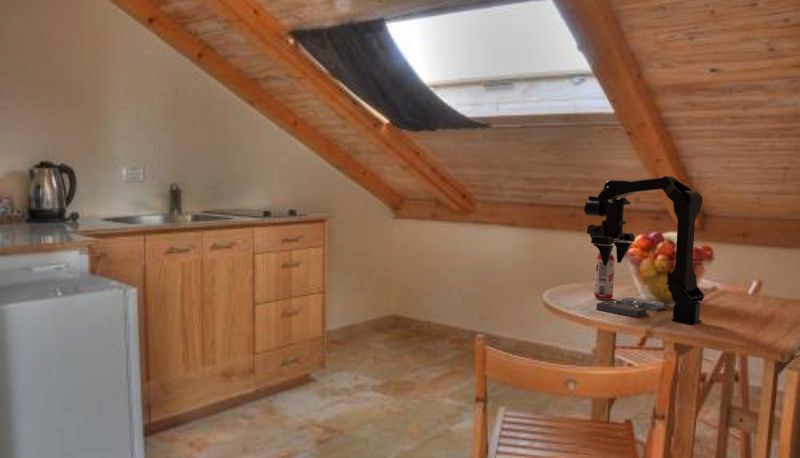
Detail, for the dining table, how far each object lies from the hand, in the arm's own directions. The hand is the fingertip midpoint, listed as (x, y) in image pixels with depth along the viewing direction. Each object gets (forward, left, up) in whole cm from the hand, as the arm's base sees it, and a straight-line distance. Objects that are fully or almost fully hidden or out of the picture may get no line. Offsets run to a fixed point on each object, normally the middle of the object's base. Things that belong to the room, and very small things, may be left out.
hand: (612, 263), depth 214 cm
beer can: (+7, -8, -14) cm, 18 cm away
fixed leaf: (-8, +6, -14) cm, 17 cm away
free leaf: (-8, -6, -14) cm, 17 cm away
